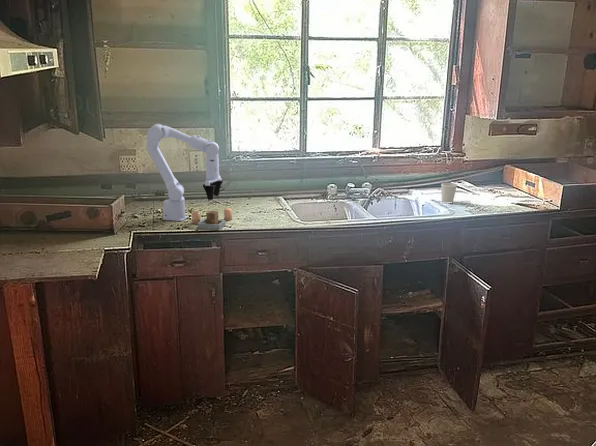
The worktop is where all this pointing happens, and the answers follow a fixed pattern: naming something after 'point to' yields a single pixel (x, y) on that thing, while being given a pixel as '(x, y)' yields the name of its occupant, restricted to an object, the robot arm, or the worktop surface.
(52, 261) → the worktop surface
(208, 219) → the walnut block
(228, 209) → the tan cylinder
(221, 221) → the tray
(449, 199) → the dixie cup
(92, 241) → the worktop surface
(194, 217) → the tan cylinder
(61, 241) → the worktop surface
